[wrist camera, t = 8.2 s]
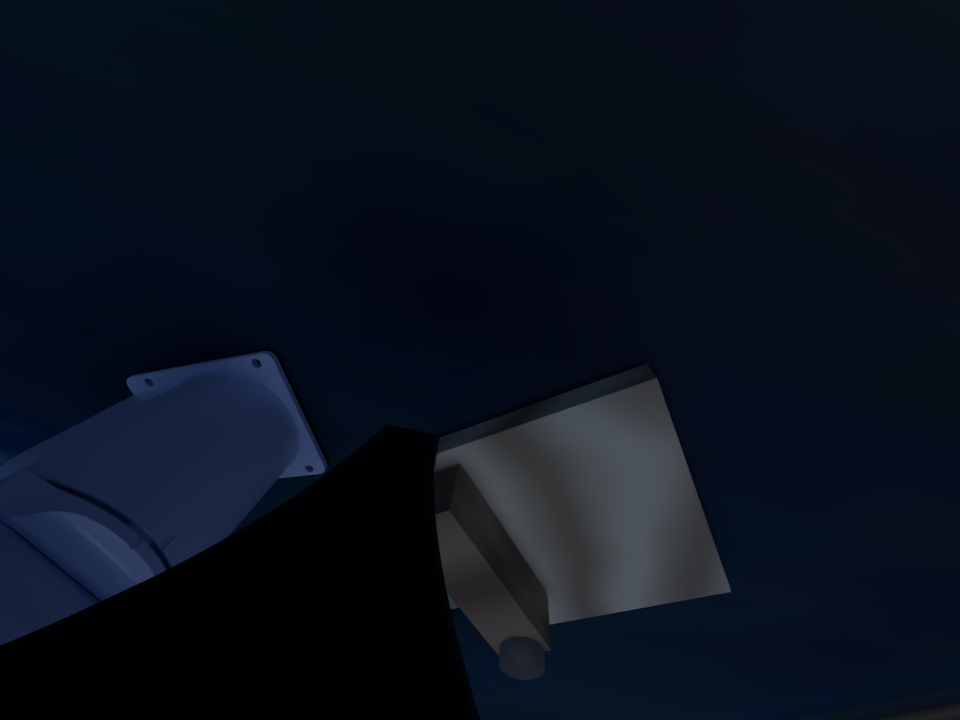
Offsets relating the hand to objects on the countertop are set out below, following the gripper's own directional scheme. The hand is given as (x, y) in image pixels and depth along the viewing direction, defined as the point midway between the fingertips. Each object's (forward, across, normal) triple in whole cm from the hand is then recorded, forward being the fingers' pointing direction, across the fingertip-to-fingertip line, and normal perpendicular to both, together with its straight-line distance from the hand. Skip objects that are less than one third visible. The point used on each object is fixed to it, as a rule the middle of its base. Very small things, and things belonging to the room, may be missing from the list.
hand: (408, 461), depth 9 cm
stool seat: (+9, -7, +10) cm, 16 cm away
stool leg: (+8, -4, +12) cm, 15 cm away
